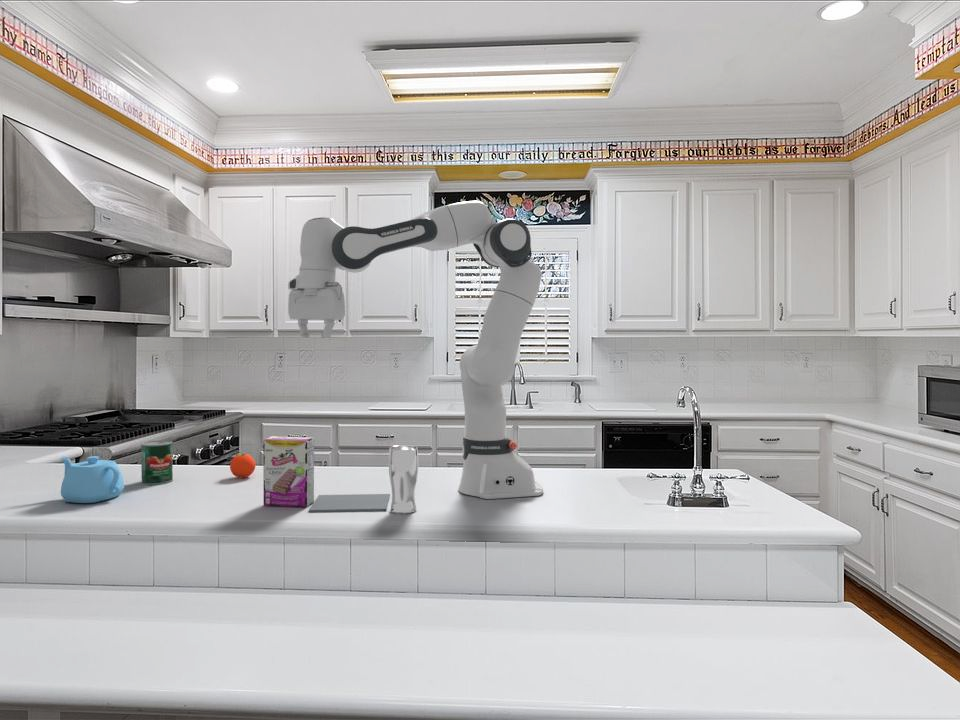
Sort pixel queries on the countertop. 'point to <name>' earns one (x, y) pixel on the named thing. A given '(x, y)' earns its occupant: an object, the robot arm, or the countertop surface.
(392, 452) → the beer glass
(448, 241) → the robot arm
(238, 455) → the clementine
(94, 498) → the teapot
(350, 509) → the grey rubber mat
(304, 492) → the candy bar box
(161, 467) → the canned tomato
